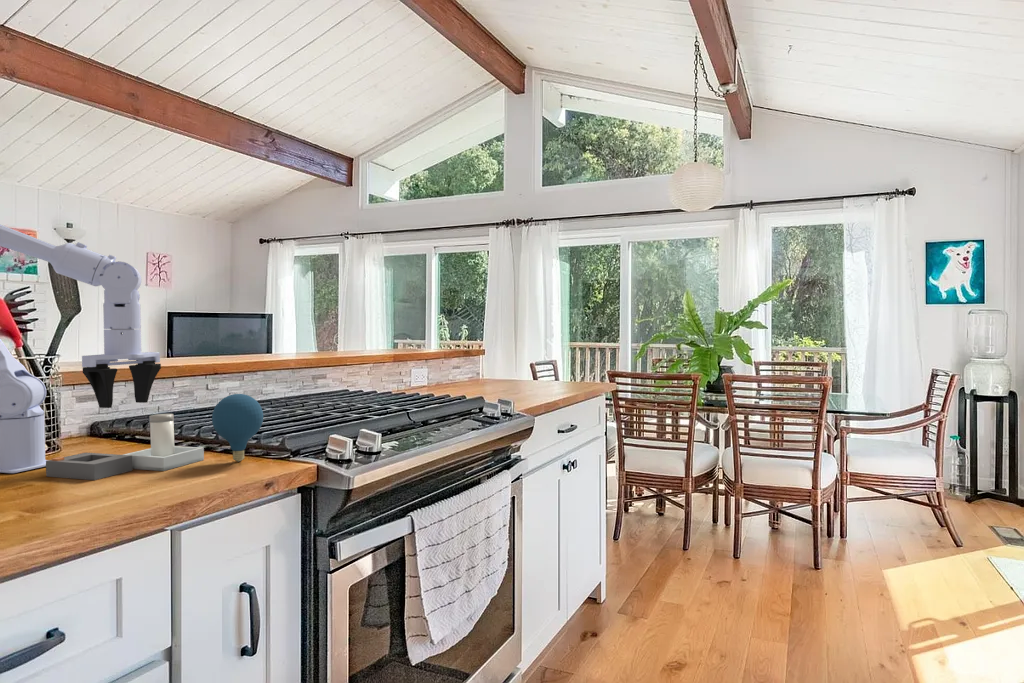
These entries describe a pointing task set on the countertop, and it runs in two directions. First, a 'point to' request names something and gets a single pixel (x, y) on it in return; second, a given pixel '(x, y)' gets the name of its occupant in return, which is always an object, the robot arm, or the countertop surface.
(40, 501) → the countertop surface
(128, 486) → the countertop surface
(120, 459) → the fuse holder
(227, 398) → the light bulb
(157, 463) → the parts tray
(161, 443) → the cylinder
